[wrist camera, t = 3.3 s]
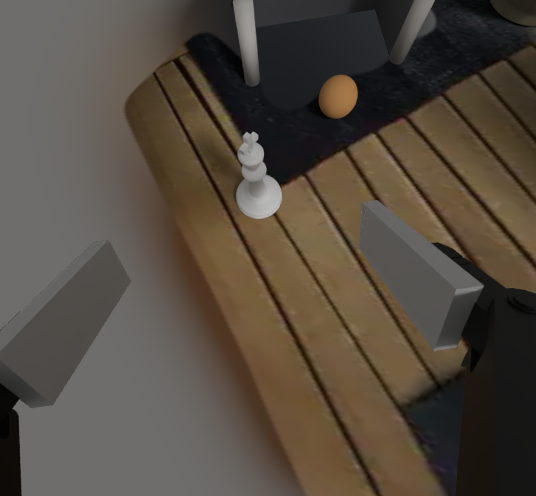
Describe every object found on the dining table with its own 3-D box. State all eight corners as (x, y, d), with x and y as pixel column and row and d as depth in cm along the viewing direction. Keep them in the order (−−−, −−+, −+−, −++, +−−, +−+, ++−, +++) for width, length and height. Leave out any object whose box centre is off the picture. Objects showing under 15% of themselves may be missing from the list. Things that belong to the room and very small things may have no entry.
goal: (405, 63, 29) (451, -24, 21) (246, 87, 30) (234, 10, 22) (385, -2, 32) (420, -102, 24) (236, 21, 32) (223, -70, 24)
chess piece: (291, 191, 26) (297, 127, 17) (264, 227, 26) (254, 182, 16) (254, 168, 27) (240, 93, 17) (227, 202, 27) (196, 144, 17)
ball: (341, 92, 29) (351, 59, 25) (357, 118, 28) (370, 89, 24) (310, 104, 29) (315, 73, 25) (325, 131, 28) (332, 103, 24)
